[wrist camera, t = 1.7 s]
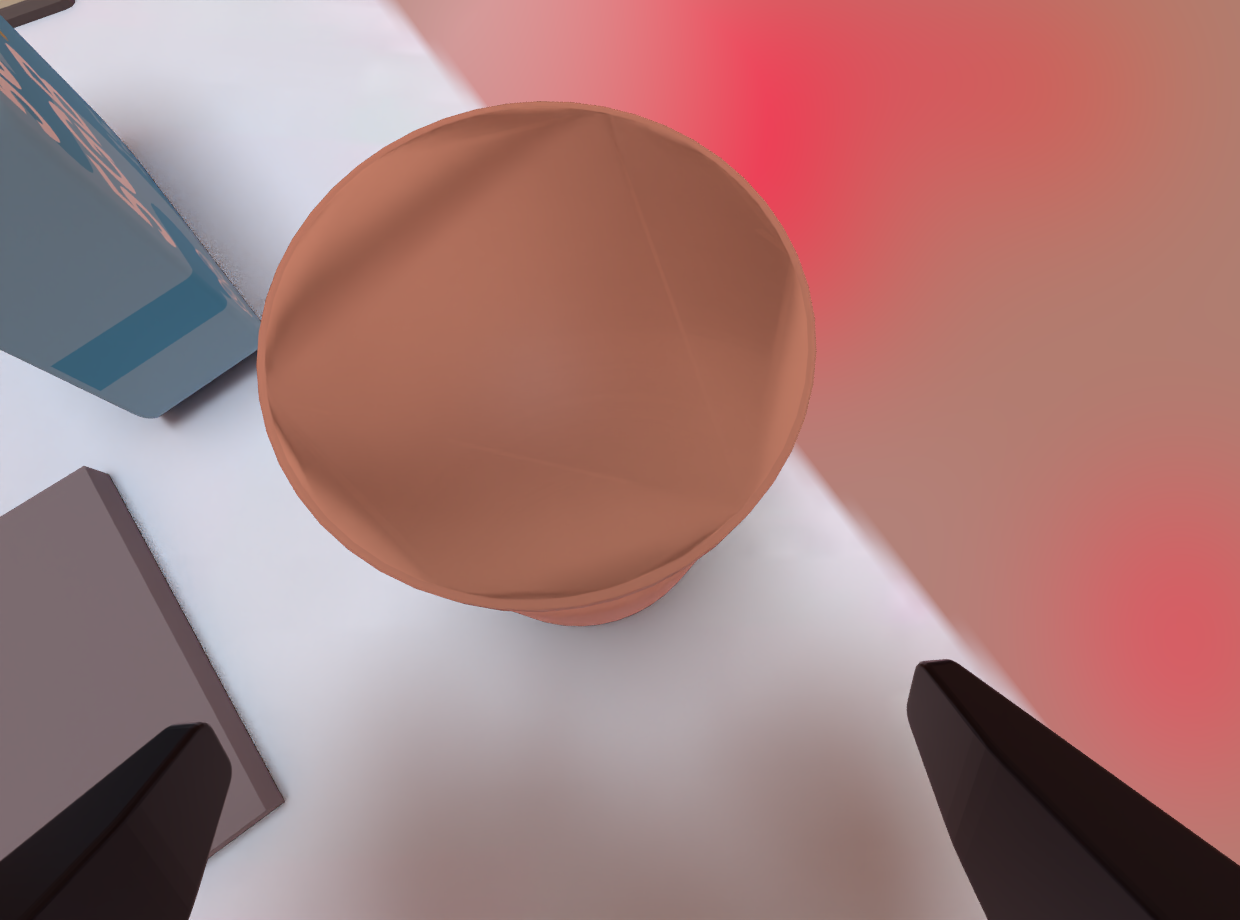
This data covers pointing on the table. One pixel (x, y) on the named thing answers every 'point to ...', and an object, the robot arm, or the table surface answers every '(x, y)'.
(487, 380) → the terracotta canister
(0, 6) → the calculator
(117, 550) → the charcoal mat
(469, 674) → the table surface
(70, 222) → the data package
